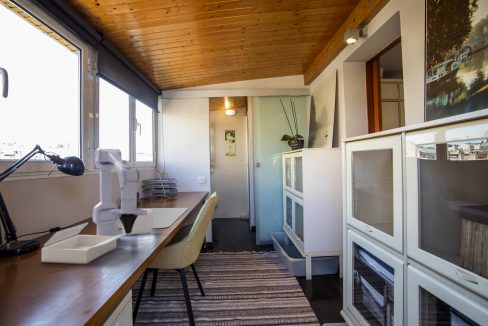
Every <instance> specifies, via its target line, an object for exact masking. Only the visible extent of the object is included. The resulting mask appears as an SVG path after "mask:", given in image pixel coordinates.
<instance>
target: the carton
mask: <svg viewBox="0 0 488 326" xmlns="http://www.w3.org/2000/svg"><path fill="white" fill-rule="evenodd" d="M112 237H115V236H97V234H96V235H93V234H92V235H91V234H90V235H89V234H77V235H74V236H71V237H69V238H66V239H63V240H60V241H58V242H55V243H52V244H49V245H46V246H43V247H42V248H41V260H40V261H41V263H58V264H59V263H60V264H63V263H64V264H79V265H81V264H82V265H83V264H84V265H86V264H89V263H90V262H93V261H95V260H96V259H98V258H100V257H103V256H104V255H105V254H107V253H109V252H111V251H113V250H114V249H117V240H114V241H112V242H110V243H108V244H106V245H103V246H99V247H96V248H92V249H89V248H91V247H93V246H95V245H97V244H99V243H102V242H104V241H106V240H108V239H110V238H112Z"/></svg>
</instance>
